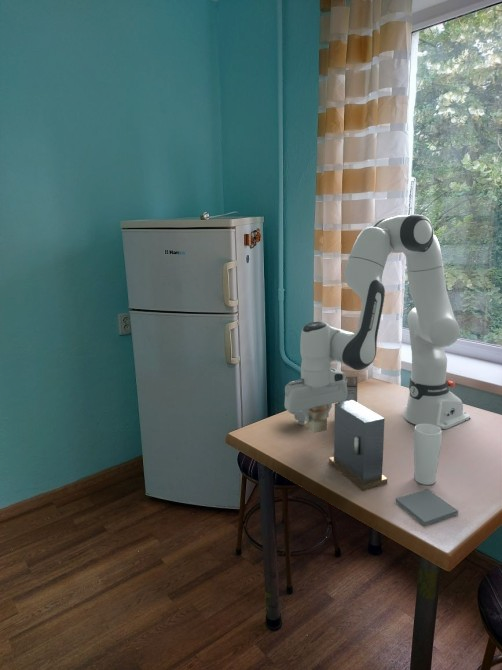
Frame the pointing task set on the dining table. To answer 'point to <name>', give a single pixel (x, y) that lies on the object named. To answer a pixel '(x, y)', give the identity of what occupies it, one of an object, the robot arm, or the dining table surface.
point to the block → (318, 419)
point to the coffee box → (351, 389)
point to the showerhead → (299, 417)
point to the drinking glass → (426, 452)
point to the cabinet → (358, 444)
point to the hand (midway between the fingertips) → (316, 419)
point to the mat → (426, 506)
